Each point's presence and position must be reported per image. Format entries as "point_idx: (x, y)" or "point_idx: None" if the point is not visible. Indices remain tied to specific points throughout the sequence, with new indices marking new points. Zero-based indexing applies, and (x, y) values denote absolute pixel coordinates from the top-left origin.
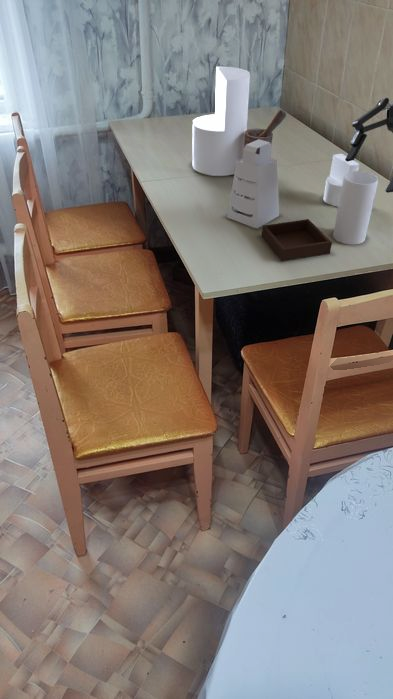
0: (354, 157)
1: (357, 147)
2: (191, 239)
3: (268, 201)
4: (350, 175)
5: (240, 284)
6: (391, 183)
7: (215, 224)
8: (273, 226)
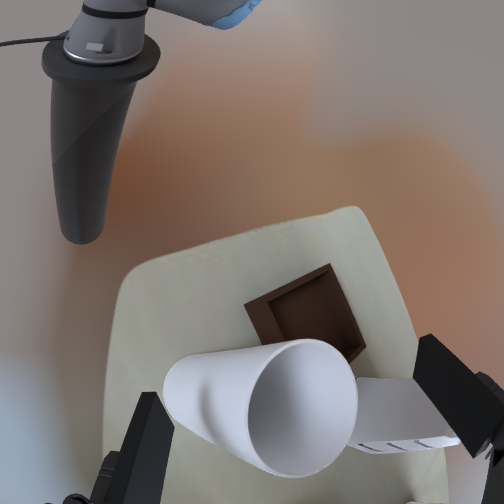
0: (427, 342)
1: (462, 364)
2: (401, 320)
3: (381, 410)
4: (329, 448)
5: (340, 215)
6: (161, 443)
7: (394, 370)
8: (352, 352)
